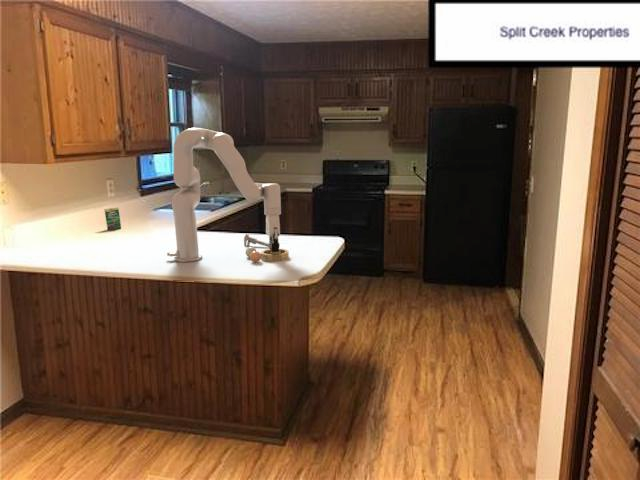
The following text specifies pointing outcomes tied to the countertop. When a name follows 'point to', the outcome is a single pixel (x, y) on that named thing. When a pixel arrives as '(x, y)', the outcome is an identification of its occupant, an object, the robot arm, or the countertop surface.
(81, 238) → the countertop surface
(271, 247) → the steel ball
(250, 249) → the cream ball
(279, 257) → the ring
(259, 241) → the caliper
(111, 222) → the coffee box
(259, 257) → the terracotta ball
